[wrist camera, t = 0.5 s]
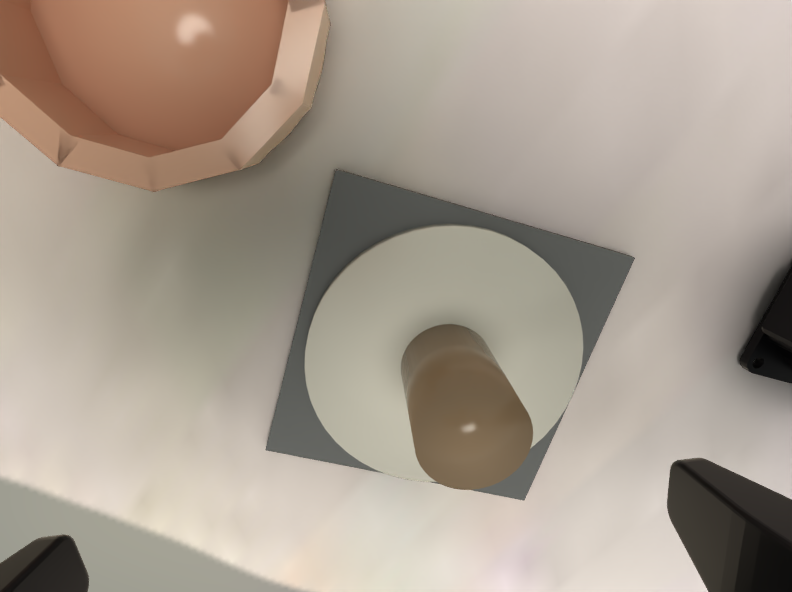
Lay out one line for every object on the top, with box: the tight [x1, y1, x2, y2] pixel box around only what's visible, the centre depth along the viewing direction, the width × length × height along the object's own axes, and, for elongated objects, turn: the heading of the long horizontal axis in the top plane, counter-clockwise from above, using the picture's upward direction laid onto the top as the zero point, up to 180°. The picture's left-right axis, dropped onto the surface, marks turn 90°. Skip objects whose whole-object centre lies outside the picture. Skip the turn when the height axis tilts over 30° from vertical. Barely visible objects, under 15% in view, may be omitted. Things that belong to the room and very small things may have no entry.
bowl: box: [0, 0, 331, 192], centre depth 14 cm, size 10×10×4 cm
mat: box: [266, 169, 635, 500], centre depth 20 cm, size 12×12×1 cm
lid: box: [304, 224, 583, 490], centre depth 17 cm, size 11×11×6 cm
